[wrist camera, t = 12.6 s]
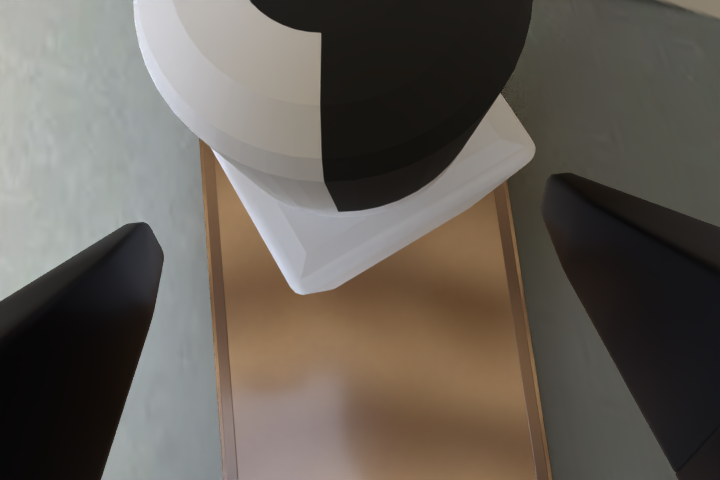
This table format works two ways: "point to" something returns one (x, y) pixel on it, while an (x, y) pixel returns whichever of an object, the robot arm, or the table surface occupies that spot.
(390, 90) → the medicine bottle
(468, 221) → the wooden board
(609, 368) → the table surface
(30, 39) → the table surface
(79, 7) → the table surface
